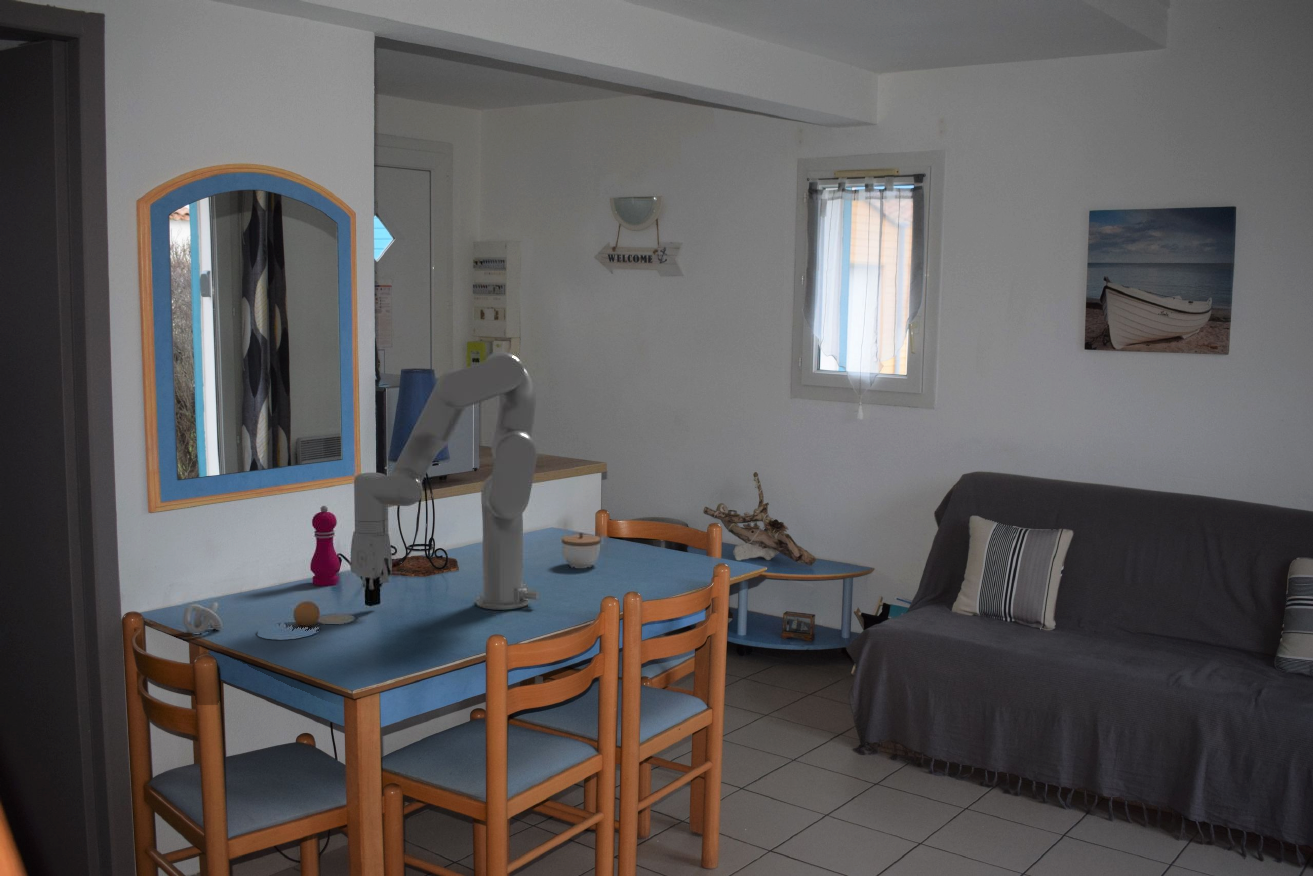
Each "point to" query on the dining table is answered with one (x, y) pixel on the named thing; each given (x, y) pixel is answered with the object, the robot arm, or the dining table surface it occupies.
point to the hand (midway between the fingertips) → (372, 604)
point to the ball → (306, 613)
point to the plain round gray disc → (336, 619)
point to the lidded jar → (581, 550)
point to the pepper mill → (324, 549)
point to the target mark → (299, 626)
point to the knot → (206, 621)
